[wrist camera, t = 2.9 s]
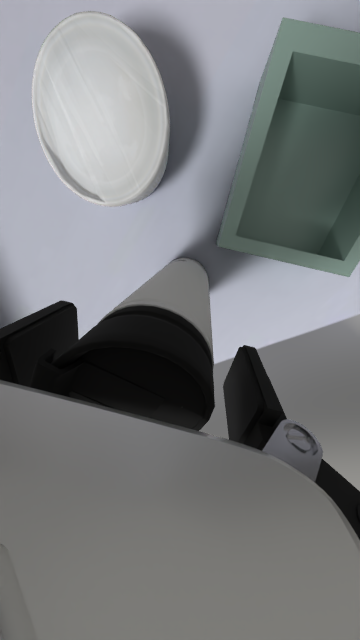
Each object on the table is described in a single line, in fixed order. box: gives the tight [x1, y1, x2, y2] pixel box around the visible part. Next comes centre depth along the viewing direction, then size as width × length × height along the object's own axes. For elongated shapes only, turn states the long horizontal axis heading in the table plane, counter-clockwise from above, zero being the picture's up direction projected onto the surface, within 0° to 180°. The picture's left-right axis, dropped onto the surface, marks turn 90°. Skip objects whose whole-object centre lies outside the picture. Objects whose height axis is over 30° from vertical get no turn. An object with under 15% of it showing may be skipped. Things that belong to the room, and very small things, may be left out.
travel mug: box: [30, 258, 215, 431], centre depth 15 cm, size 6×7×20 cm
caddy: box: [216, 18, 360, 277], centre depth 16 cm, size 13×12×5 cm
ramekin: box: [32, 11, 170, 207], centre depth 17 cm, size 11×11×5 cm
